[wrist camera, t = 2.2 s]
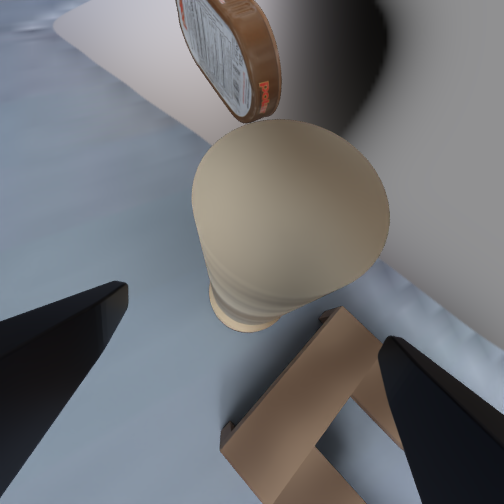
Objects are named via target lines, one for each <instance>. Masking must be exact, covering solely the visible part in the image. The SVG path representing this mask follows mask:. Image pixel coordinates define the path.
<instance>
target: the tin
mask: <svg viewBox="0 0 504 504" xmlns="http://www.w3.org/2000/svg"><path fill="white" fill-rule="evenodd" d="M176 6H177V10H178V17H179V23H180V27H181V30H182V33H183V36H184V39H185V42H186V44H187V46H188V48H189V51H190V53H191V55H192V57H193V59H194V61H195V63H196V64H197V66H198V67H199V68H200V70H201V72H202V73H203V74H204V76H205V77H206V79H207V80H208V81H209V83H210V84H211V86H212V87H213V89H214V90H215V91H216V93H217V94H218V96H219V97H220V99H221V100H222V101H223V103H224V104H225V105H226V107H227V108H228V110H229V111H230V112H231V114H232V115H233V116H234V117H235V118H236V119H237V120H238V121H240V122H242V123H251V122H254V121H256V120H258V119H261V118H263V117H268V116H270V115H272V114H273V113H274V112H275V111H276V109H277V107H278V104H279V101H280V96H281V84H282V78H281V66H280V59H279V53H278V48H277V45H276V41H275V38H274V35H273V32H272V29H271V27H270V24H269V22H268V19H267V18H266V16H265V14H264V12H263V11H262V9H261V8H260V7H259V5H258V4H257V3H256V2H255V1H254V0H176Z"/></svg>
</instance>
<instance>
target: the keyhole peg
mask: <svg viewBox="0 0 504 504" xmlns="http://www.w3.org/2000/svg"><path fill="white" fill-rule="evenodd" d="M192 207H193V214H194V218H195V222H196V226H197V230H198V234H199V239H200V243H201V247H202V251H203V255H204V259H205V263H206V267H207V271H208V275H209V279H210V286H209V297H210V302H211V305H212V308H213V310H214V312H215V314H216V316H217V317H218V318H219V320H220V321H221V322H222V323H223V324H224V325H226V326H227V327H229V328H231V329H233V330H235V331H238V332H244V333H252V332H257V331H260V330H263V329H266V328H268V327H270V326H271V325H273V324H274V323H275V322H277V321H278V320H279V319H280V317H281V316H283V315H285V314H287V313H289V312H291V311H293V310H295V309H298V308H300V307H302V306H304V305H306V304H308V303H310V302H313V301H315V300H317V299H319V298H321V297H323V296H325V295H327V294H330V293H332V292H334V291H336V290H338V289H340V288H342V287H344V286H346V285H348V284H350V283H352V282H354V281H355V280H357V279H358V278H359V277H361V276H362V275H363V274H364V273H365V272H366V271H367V270H368V269H369V268H370V267H371V266H372V265H373V264H374V263H375V261H376V260H377V258H378V257H379V256H380V253H381V252H382V250H383V247H384V246H385V242H386V239H387V236H388V231H389V224H390V212H389V204H388V199H387V195H386V192H385V189H384V187H383V184H382V182H381V180H380V178H379V177H378V174H377V173H376V171H375V169H374V168H373V167H372V165H371V164H370V163H369V161H368V160H367V159H366V158H365V157H364V156H363V155H362V154H361V153H360V152H359V151H358V150H357V149H356V148H355V147H354V146H353V145H351V144H350V143H349V142H347V141H346V140H344V139H343V138H341V137H340V136H338V135H336V134H334V133H333V132H331V131H328V130H326V129H324V128H322V127H319V126H316V125H313V124H310V123H306V122H301V121H294V120H285V119H275V120H263V121H258V122H254V123H250V124H247V125H244V126H241V127H239V128H237V129H234V130H233V131H231V132H229V133H228V134H226V135H225V136H223V137H222V138H221V139H219V140H218V141H217V142H216V143H215V144H214V145H213V146H212V147H211V148H210V149H209V150H208V151H207V153H206V154H205V156H204V157H203V158H202V160H201V162H200V164H199V166H198V168H197V171H196V174H195V177H194V181H193V187H192Z"/></svg>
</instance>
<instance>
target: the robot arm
mask: <svg viewBox="0 0 504 504" xmlns="http://www.w3.org/2000/svg"><path fill="white" fill-rule="evenodd" d="M127 308H128V284H127V283H125V282H120V281H112V282H109V283H106V284H103V285H101V286H98V287H95V288H92V289H89V290H87V291H84V292H81V293H78V294H76V295H73V296H70V297H67V298H64V299H62V300H59V301H56V302H53V303H50V304H48V305H45V306H42V307H39V308H36V309H34V310H31V311H28V312H25V313H22V314H20V315H17V316H14V317H11V318H8V319H6V320H3V321H0V498H1V496H2V495H3V493H4V492H5V490H6V489H7V488H8V486H9V485H10V483H11V482H12V481H13V479H14V478H15V476H16V475H17V473H18V472H19V471H20V469H21V468H22V466H23V465H24V463H25V462H26V461H27V459H28V458H29V456H30V455H31V454H32V452H33V451H34V449H35V448H36V446H37V445H38V444H39V442H40V441H41V439H42V438H43V436H44V435H45V434H46V432H47V431H48V429H49V428H50V427H51V425H52V424H53V422H54V421H55V419H56V418H57V417H58V415H59V414H60V412H61V411H62V409H63V408H64V407H65V405H66V404H67V402H68V401H69V400H70V398H71V397H72V395H73V394H74V392H75V391H76V390H77V388H78V387H79V385H80V384H81V382H82V381H83V380H84V378H85V377H86V375H87V374H88V373H89V371H90V370H91V368H92V367H93V365H94V364H95V363H96V361H97V360H98V358H99V357H100V355H101V354H102V352H103V351H104V349H105V348H106V346H107V344H108V342H109V341H110V339H111V337H112V335H113V333H114V332H115V330H116V328H117V326H118V324H119V323H120V321H121V319H122V317H123V315H124V314H125V312H126V310H127ZM378 362H379V367H380V371H381V375H382V379H383V384H384V388H385V392H386V396H387V400H388V404H389V407H390V410H391V413H392V416H393V419H394V422H395V425H396V428H397V431H398V434H399V437H400V440H401V443H402V446H403V449H404V452H405V455H406V457H407V460H408V463H409V466H410V469H411V472H412V475H413V478H414V481H415V484H416V487H417V490H418V493H419V496H420V499H421V502H422V504H504V415H503V414H502V413H500V412H499V411H498V410H497V409H495V408H494V407H493V406H491V405H490V404H489V403H487V402H486V401H485V400H483V399H482V398H481V397H479V396H478V395H477V394H475V393H474V392H473V391H471V390H470V389H469V388H468V387H466V386H465V385H464V384H462V383H461V382H460V381H458V380H457V379H456V378H454V377H453V376H452V375H450V374H449V373H448V372H446V371H445V370H444V369H442V368H441V367H440V366H439V365H437V364H436V363H435V362H433V361H432V360H431V359H429V358H428V357H427V356H425V355H424V354H423V353H421V352H420V351H419V350H417V349H416V348H415V347H413V346H412V345H411V344H409V343H408V342H407V341H406V340H404V339H403V338H401V337H396V336H388V337H387V338H386V340H385V341H384V343H383V345H382V347H381V348H380V350H379V352H378Z"/></svg>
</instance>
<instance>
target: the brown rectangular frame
mask: <svg viewBox="0 0 504 504" xmlns="http://www.w3.org/2000/svg"><path fill="white" fill-rule="evenodd" d="M319 320H320V321H321V322H322V323H323V325H322V326H321V327H320V328H319V330H318V331H317V332H316V333H315V334H314V335H313V337H312V338H311V339H310V340H309V341H308V342H307V344H306V345H305V346H304V347H303V348H302V349H301V351H300V352H299V353H298V354H297V355H296V356H295V358H294V359H293V360H292V361H291V362H290V363H289V365H288V366H287V367H286V368H285V369H284V371H283V372H282V373H281V374H280V375H279V376H278V378H277V379H276V380H275V381H274V382H273V383H272V385H271V386H270V387H269V388H268V389H267V390H266V392H265V393H264V394H263V395H262V396H261V397H260V399H259V400H258V401H257V402H256V403H255V405H254V406H253V407H252V408H251V409H250V410H249V412H248V413H247V414H246V415H245V416H244V417H243V419H242V420H241V421H240V422H239V423H238V424H237V426H236V427H235V426H234V425H233V424H232V422H231V421H229V422H228V424H227V425H226V426H225V427H224V428H223V429H222V430H221V435H220V452H221V453H222V454H223V456H224V457H225V458H226V459H227V460H228V462H229V463H230V464H231V465H232V467H233V468H234V469H235V470H236V471H237V473H238V474H239V475H240V476H241V478H242V479H243V480H244V481H245V483H246V484H247V485H248V486H249V487H250V489H251V490H252V491H253V492H254V494H255V495H256V496H257V497H258V498H259V500H260V501H261V502H262V503H263V504H366V502H365V501H364V500H363V499H362V498H361V497H360V496H359V495H358V494H357V492H356V491H355V490H354V489H353V488H352V487H351V486H350V485H349V484H348V482H347V481H346V480H345V479H344V478H343V477H342V476H341V475H340V474H339V472H338V471H337V470H336V469H335V468H334V467H333V466H332V465H331V464H330V462H329V461H328V460H327V459H326V458H325V457H324V456H323V455H322V454H321V452H320V451H319V450H318V449H317V448H316V447H315V445H316V443H317V442H318V440H319V439H320V438H321V436H322V435H323V433H324V432H325V431H326V429H327V428H328V427H329V425H330V424H331V422H332V421H333V420H334V418H335V417H336V415H337V414H338V413H339V411H340V410H341V408H342V407H343V406H344V404H345V403H346V402H347V400H348V399H349V397H351V398H352V399H353V400H354V401H355V402H356V403H357V404H358V405H359V406H360V407H361V408H362V409H363V410H364V411H365V412H366V413H367V414H368V415H369V416H370V417H371V418H372V420H373V421H374V422H375V423H376V424H377V425H378V426H379V427H380V428H381V429H382V430H383V431H384V432H385V433H386V434H387V435H388V436H389V437H390V438H391V439H392V440H393V441H394V442H395V443H396V444H397V445H398V446H399V447H400V448H401V449H402V450H403V451H404V449H403V446H402V443H401V440H400V437H399V434H398V431H397V428H396V425H395V422H394V419H393V416H392V413H391V410H390V407H389V404H388V400H387V396H386V392H385V388H384V384H383V379H382V375H381V371H380V367H379V362H378V352H379V350H380V348H381V347H382V345H383V344H382V343H381V342H380V341H379V340H378V339H377V338H376V337H375V336H374V335H373V334H372V333H371V332H369V331H368V330H367V329H366V328H365V327H364V326H363V325H362V324H361V323H360V322H359V321H358V320H357V319H356V318H355V317H354V316H353V315H352V314H351V313H350V312H349V311H347V310H346V309H345V308H344V307H343V306H340V307H337V308H334V309H331V310H327V311H325V312H324V313H323V314H322V315H321V317H320V318H319Z"/></svg>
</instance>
